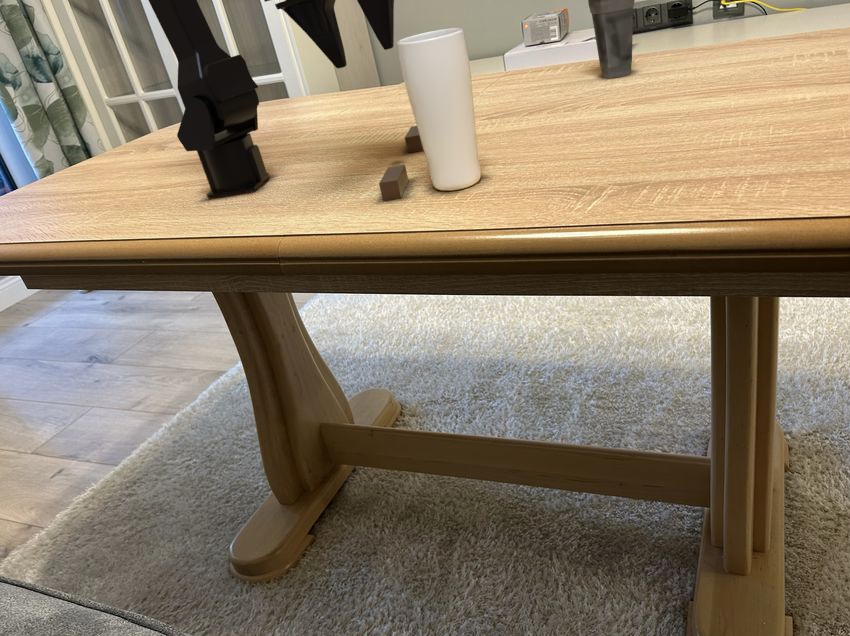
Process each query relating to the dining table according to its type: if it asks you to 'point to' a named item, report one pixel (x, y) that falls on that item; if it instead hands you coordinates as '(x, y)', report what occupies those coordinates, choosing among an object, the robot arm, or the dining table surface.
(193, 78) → the robot arm
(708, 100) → the dining table surface
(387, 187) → the near stick
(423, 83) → the drinking glass
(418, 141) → the far stick
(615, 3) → the beverage cup
